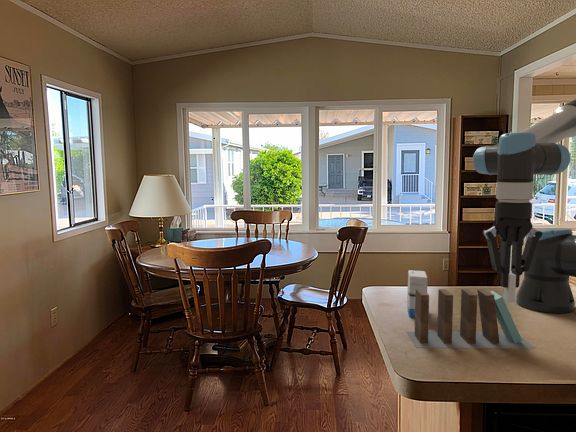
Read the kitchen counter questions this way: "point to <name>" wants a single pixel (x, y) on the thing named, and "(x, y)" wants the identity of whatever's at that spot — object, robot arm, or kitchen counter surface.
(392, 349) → the kitchen counter surface
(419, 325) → the tile
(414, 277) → the ink box
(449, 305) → the tile
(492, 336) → the tile
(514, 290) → the robot arm
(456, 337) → the mat
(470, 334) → the tile
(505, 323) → the teal tile
